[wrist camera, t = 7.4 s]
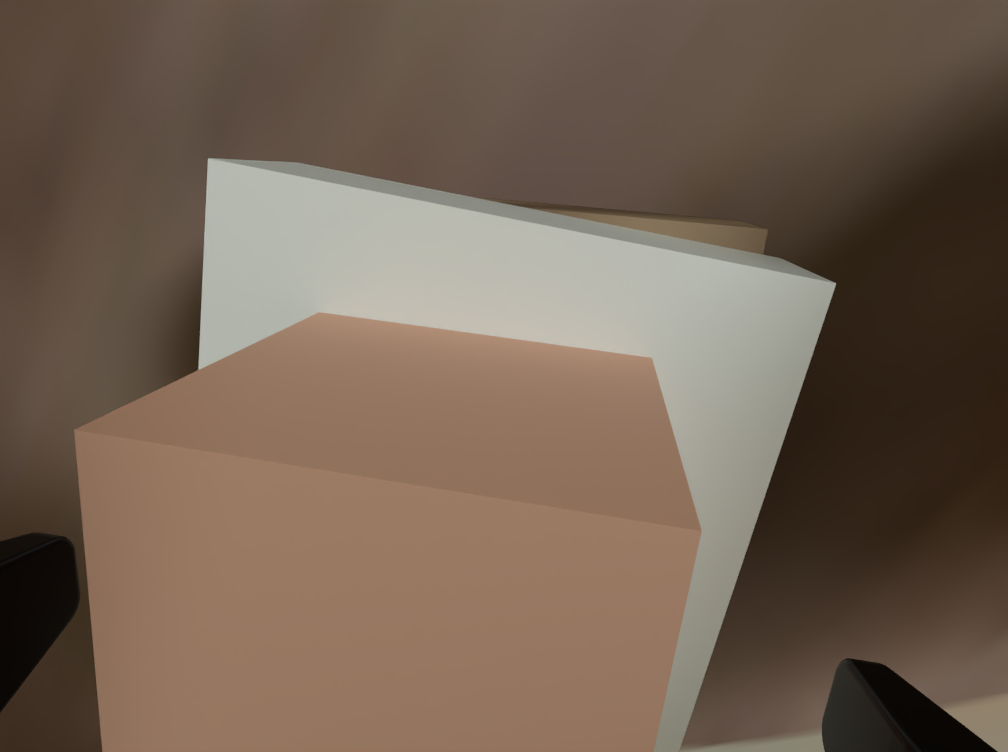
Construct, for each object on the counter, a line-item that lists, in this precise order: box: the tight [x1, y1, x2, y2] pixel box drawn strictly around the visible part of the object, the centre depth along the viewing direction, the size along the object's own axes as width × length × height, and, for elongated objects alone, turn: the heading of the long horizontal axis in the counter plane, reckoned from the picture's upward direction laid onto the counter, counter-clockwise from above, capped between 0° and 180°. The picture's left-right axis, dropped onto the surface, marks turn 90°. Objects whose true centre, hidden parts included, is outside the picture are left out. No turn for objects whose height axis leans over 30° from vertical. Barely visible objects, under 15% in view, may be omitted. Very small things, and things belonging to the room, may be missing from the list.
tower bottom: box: [474, 197, 768, 255], centre depth 15 cm, size 9×9×3 cm
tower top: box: [198, 158, 836, 752], centre depth 12 cm, size 9×9×3 cm
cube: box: [74, 312, 702, 752], centre depth 8 cm, size 5×5×5 cm
